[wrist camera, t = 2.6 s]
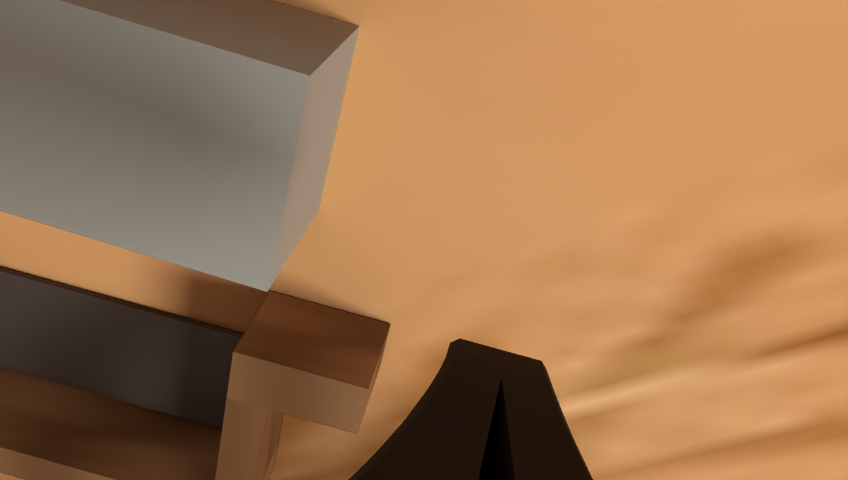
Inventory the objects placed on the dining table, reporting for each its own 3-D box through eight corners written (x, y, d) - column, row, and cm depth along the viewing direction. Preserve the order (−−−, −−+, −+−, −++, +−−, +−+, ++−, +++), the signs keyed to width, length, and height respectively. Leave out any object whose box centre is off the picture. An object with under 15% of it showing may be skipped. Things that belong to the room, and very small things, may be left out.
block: (360, 25, 19) (310, 75, 15) (320, 206, 22) (267, 291, 18) (80, -60, 19) (-44, -31, 15) (69, 130, 22) (-40, 198, 18)
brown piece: (514, -174, 17) (505, -175, 14) (349, 488, 26) (320, 581, 23) (-271, -377, 17) (-459, -424, 14) (-164, 345, 26) (-263, 416, 23)
